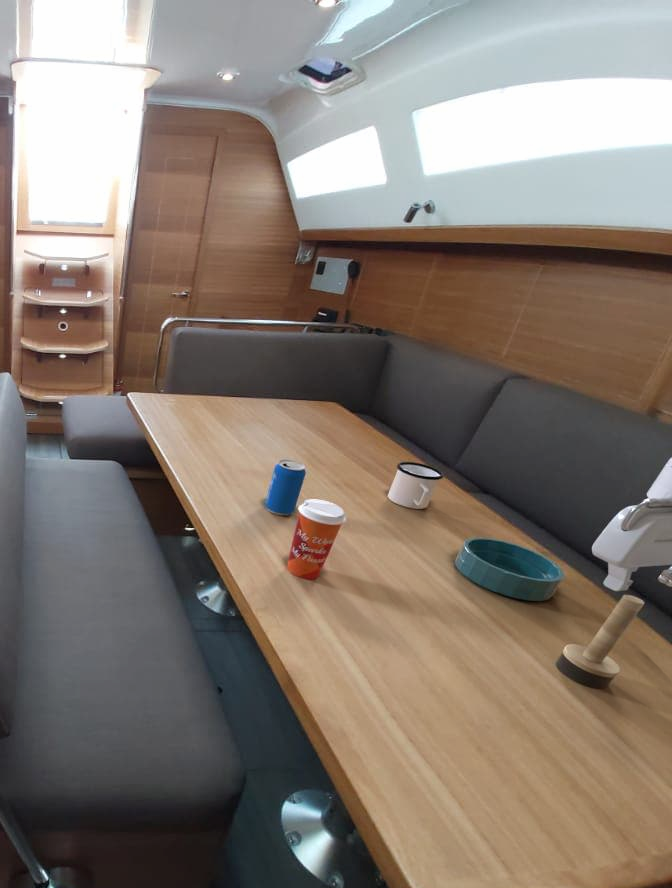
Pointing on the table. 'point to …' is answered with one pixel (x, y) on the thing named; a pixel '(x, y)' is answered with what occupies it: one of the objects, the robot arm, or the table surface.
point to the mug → (414, 484)
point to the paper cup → (314, 537)
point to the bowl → (509, 569)
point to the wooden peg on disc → (599, 648)
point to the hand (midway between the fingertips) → (641, 586)
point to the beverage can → (285, 487)
